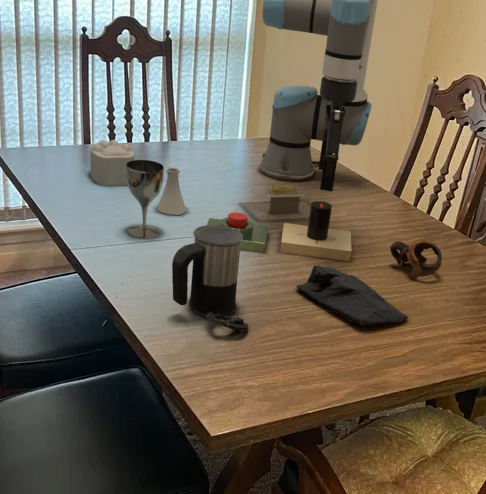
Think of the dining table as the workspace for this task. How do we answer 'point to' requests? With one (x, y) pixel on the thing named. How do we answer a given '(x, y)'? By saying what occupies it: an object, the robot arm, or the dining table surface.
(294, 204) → the platform
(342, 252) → the timer panel
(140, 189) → the wine glass
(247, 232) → the button housing
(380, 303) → the black cloth
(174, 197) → the flask
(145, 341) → the dining table surface
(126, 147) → the lumpy-topped squat cylinder
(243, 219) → the button
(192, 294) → the milk frother
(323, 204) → the dial
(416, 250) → the coiled brown leather belt
